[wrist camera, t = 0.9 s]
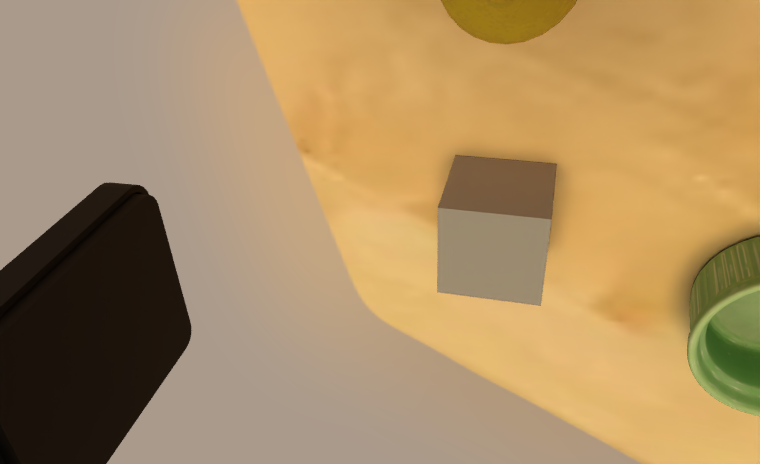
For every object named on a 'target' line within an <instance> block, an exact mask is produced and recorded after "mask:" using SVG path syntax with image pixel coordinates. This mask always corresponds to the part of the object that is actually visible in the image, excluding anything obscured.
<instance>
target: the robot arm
mask: <svg viewBox="0 0 760 464" xmlns="http://www.w3.org/2000/svg"><path fill="white" fill-rule="evenodd" d="M190 337H191V323H190V319H189V316H188V312H187V308H186V305H185V301H184V297H183V294H182V290H181V286H180V283H179V279H178V275H177V272H176V268H175V264H174V261H173V257H172V253H171V250H170V246H169V242H168V239H167V235H166V231H165V228H164V224H163V220H162V217H161V213H160V210H159V206H158V203H157V200H156V199H155V198H154V197H153V196H151V195H149V194H148V192H147V190H146V189H145V188H144V187H142V186H140V185H131V184H119V183H104V184H102V185H100V186H99V187H98V188H96V189H95V190H94V191H93V192H92V193H91V194H89V195H88V196H87V197H86V198H85V199H84V200H82V201H81V202H80V203H79V204H78V205H77V206H75V207H74V208H73V209H72V210H71V211H69V212H68V213H67V214H66V215H65V216H64V217H63V218H61V219H60V220H59V221H58V222H57V223H55V224H54V225H53V226H52V227H51V228H50V229H48V230H47V231H46V232H45V233H44V234H43V235H41V236H40V237H39V238H38V239H37V240H35V241H34V242H33V243H32V244H31V245H30V246H29V247H27V248H26V249H25V250H24V251H23V252H21V253H20V254H19V255H18V256H17V257H16V258H15V259H13V260H12V261H11V262H10V263H9V264H7V265H6V266H5V267H4V268H3V269H2V270H0V464H106V463H107V462H108V460H109V459H110V457H111V456H112V455H113V453H114V452H115V450H116V449H117V447H118V446H119V445H120V443H121V442H122V440H123V439H124V437H125V436H126V434H127V433H128V432H129V430H130V429H131V427H132V426H133V424H134V423H135V421H136V420H137V419H138V417H139V416H140V414H141V413H142V411H143V410H144V408H145V407H146V405H147V404H148V403H149V401H150V400H151V398H152V397H153V395H154V394H155V392H156V391H157V389H158V388H159V386H160V385H161V384H162V382H163V381H164V379H165V378H166V377H167V375H168V374H169V372H170V371H171V369H172V368H173V366H174V365H175V364H176V362H177V361H178V359H179V358H180V356H181V355H182V353H183V352H184V351H185V349H186V347H187V346H188V344H189V341H190Z"/></svg>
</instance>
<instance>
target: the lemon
mask: <svg viewBox="0 0 760 464" xmlns="http://www.w3.org/2000/svg"><path fill="white" fill-rule="evenodd" d="M441 1H442V3H443V5H444V7H445V9H446V11H447V13H448V14H449V16H450V17H451V18H452V19H453V20H454V21H455V22H456V23H457V25H458V26H459V27H460V28H462V29H463V30H465V31H466V32H468V33H469V34H471V35H472V36H473V37H476V38H479V39H481V40H484V41H487V42H490V43H500V44H512V43H519V42H525V41H527V40H530V39H532V38H535V37H537V36H540V35H542V34H544V33H545V32H547V31H548V30H549V29H551V28H552V27H554V26H555V25H556V24H558V23H559V22H560V21H561V20H562V19H563V18H564V17H565V15H566V14H567V13H568V12H569V11H570V10H571V9H572V8H573V6H574V5H575V3H576V1H577V0H441Z"/></svg>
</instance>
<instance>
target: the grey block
mask: <svg viewBox="0 0 760 464" xmlns="http://www.w3.org/2000/svg"><path fill="white" fill-rule="evenodd" d="M556 165H557V164H553V163H542V162H530V161H518V160H507V159H495V158H483V157H472V156H460V155H455V158H454V161H453V164H452V167H451V170H450V173H449V176H448V179H447V182H446V185H445V188H444V191H443V194H442V197H441V200H440V203H439V206H438V276H437V292H440V293H447V294H455V295H463V296H470V297H478V298H485V299H493V300H500V301H508V302H515V303H523V304H531V305H538V306H541V300H542V292H543V284H544V276H545V268H546V260H547V252H548V244H549V236H550V228H551V220H552V209H553V198H554V187H555V176H556Z"/></svg>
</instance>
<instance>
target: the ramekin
mask: <svg viewBox="0 0 760 464" xmlns="http://www.w3.org/2000/svg"><path fill="white" fill-rule="evenodd" d="M687 356H688V362H689V366H690V369H691V371H692V373H693V375H694V377H695V379H696V380H697V382H698V383H699V384H700V385H701V386H702V387H703V388H704V390H705V391H707V392H708V393H709V394H710V395H711V396H713V397H714V398H715V399H717V400H718V401H720V402H722V403H724V404H725V405H727V406H729V407H731V408H734V409H737V410H739V411H742V412H745V413H748V414H752V415H756V416H760V237H755V238H752V239H749V240H746V241H743V242H740V243H738V244H736V245H734V246H732V247H729V248H727V249H726V250H724V251H722V252H720V253H719V254H718V255H717V256H715V257H714V258H713V259H712V260H710V261H709V262H708V263H707V265H706V266H705V267H704V268H703V269H702V270H701V271H700V273H699V274H698V276H697V278H696V280H695V282H694V284H693V288H692V291H691V297H690V333H689V337H688V345H687Z"/></svg>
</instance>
